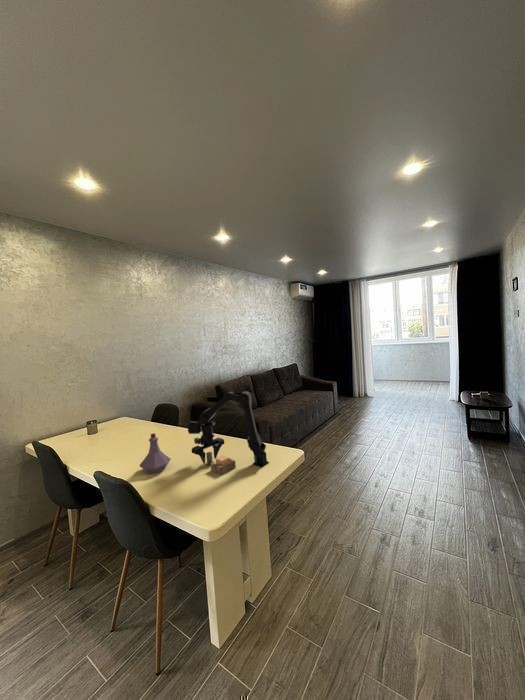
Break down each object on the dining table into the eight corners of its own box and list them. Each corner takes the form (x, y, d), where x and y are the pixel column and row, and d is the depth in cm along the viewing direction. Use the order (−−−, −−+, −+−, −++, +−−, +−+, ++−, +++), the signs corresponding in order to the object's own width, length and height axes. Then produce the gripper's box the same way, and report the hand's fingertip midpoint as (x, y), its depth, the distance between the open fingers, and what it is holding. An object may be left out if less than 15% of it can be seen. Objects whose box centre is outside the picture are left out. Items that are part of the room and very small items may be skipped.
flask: (140, 467, 152) (137, 432, 151) (171, 460, 158) (168, 427, 157) (138, 480, 136) (135, 441, 136) (172, 472, 142) (169, 435, 142)
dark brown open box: (235, 467, 142) (235, 460, 142) (221, 475, 135) (221, 467, 135) (225, 463, 148) (224, 456, 148) (210, 470, 141) (210, 463, 141)
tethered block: (230, 468, 142) (229, 457, 142) (222, 472, 138) (221, 461, 138) (211, 461, 153) (211, 450, 153) (204, 464, 149) (203, 453, 149)
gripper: (212, 426, 162) (214, 451, 162) (185, 435, 148) (187, 463, 149) (223, 429, 154) (226, 456, 155) (196, 439, 141) (198, 468, 141)
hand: (209, 460), depth 150 cm, fingers open, 7 cm apart
